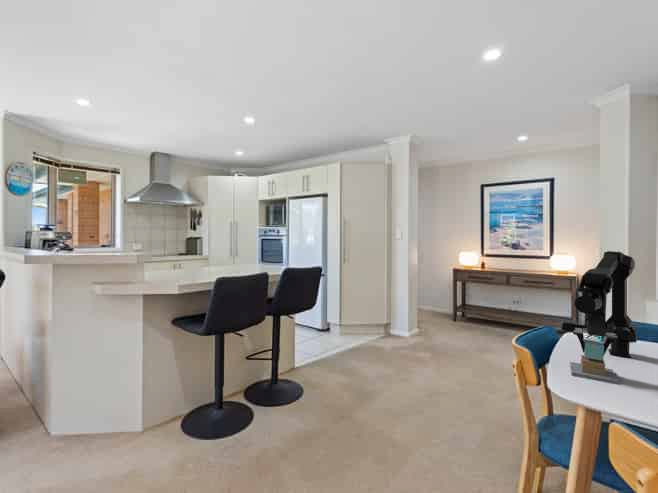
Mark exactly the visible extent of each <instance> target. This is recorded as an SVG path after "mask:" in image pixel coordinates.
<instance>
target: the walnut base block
mask: <svg viewBox="0 0 658 493" xmlns="http://www.w3.org/2000/svg"><path fill="white" fill-rule="evenodd" d="M580 356H581V357H580V358H581V359H580V364H581V369H582V372H586V373H591V374H596V375H602V376H605V368H606V362H605V360H604V359H603V360H597V359H591V358H585V357H584V354H581V355H580Z"/></svg>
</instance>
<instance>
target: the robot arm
mask: <svg viewBox="0 0 658 493" xmlns="http://www.w3.org/2000/svg"><path fill="white" fill-rule="evenodd" d="M635 262H636V261H635V259H634V258H633V257H632V256H630V255H627V254H624V253H623V252H620V251H609V250H607V251H605V252H604V253H603V257H602V258H601V260H600V261H599V263H597V265H596V266H595V268H591V269H588V270H587V271H586V272H584V274H582V276H581V279H580V282H579V286H578V288H577V292H578V293H581V295H580V296H577V298H576V299H575V301H574V307H575V308H576V310H578V312H579V313H582V314H584V317H583V318H584V319H583V324H581V323H580V324H579V323H576V321H575V320H568V319H562V320H561V322H560V323H561V326H560V328H561V331H563V332H569V333H570V332H571V333H572V334H573V335H575V336H577V339H578V341H579V343H580V346H581V349H582V353H584V350H585V345H584V339H585V336H584V332H583V331H585V332H586V333H587V335H598V336H601V337H604V339H603V340H602V342H603V345H604V355H605V354H606V353H607V351H608V353H609V354H610V355H611V356H617V357H623V358H630V359H631V358H632V357H633V356H632V355H631V353H630V346H631V345H630V344H632V343H637V340H638V338H637V337H638V336H637V332H636V330H635V327H634V326H633V320H632V319H631V317H630V316H629V315H628V278H630V276H631V275H632V273H633V271H634V270H635V267H636V263H635ZM610 293H611V315H610V316H609V318H608V319H607V318H606V315H607V296H608V294H610ZM609 347H610V348H609ZM632 359H633V358H632Z"/></svg>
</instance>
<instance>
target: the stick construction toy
mask: <svg viewBox="0 0 658 493" xmlns="http://www.w3.org/2000/svg"><path fill="white" fill-rule="evenodd" d="M593 336H594V337H597V338H598V341H601V342H603V340H604V337H601V336H598V335H589V334H587V335H585V336H584V338H586V337H587V338H590V337H593Z"/></svg>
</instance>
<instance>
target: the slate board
mask: <svg viewBox="0 0 658 493" xmlns="http://www.w3.org/2000/svg"><path fill="white" fill-rule="evenodd" d="M569 364H570V365H569V366H570V370H571V372H570V373H571V376H575V377H580V378H584V379H590V380H594V381H599V382H606V383H610V384H616V385H618V379H617V377H616V375H615V372H614V370H613V369H612V368H608V367H605V376H602V375H596V374H591V373H586V372H582V369H581V362H575V361H574V362H573V361H570V362H569Z"/></svg>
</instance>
